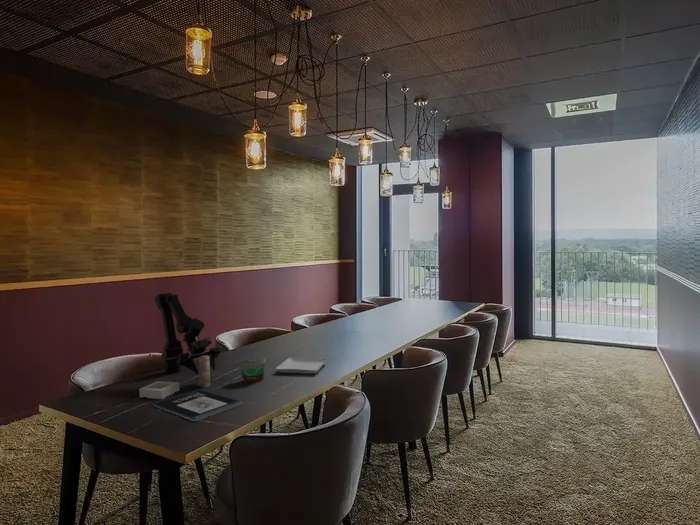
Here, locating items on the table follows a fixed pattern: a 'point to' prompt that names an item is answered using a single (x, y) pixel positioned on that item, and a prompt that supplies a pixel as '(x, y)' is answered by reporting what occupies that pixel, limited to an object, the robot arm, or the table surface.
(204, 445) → the table surface
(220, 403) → the sketchbook
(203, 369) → the beige cylinder
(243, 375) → the food container
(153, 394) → the holder block
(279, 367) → the salad plate
